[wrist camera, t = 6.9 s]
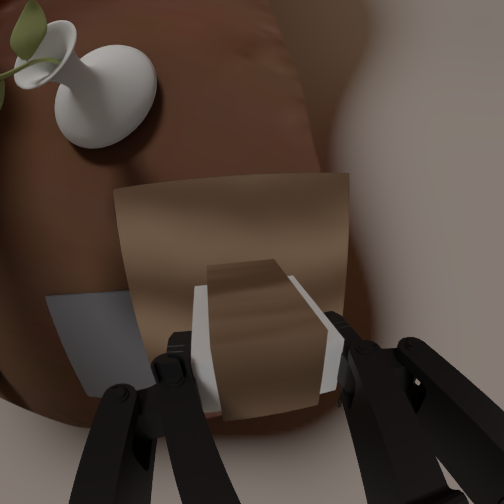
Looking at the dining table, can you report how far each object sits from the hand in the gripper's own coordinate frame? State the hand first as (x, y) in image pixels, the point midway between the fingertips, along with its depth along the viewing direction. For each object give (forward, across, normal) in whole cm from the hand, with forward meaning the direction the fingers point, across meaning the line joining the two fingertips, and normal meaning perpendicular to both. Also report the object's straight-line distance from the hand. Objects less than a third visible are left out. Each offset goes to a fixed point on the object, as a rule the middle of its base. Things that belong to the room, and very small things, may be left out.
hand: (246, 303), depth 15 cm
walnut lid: (+3, 0, 0) cm, 3 cm away
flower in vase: (+14, -12, +16) cm, 25 cm away
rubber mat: (+14, -15, -13) cm, 24 cm away
